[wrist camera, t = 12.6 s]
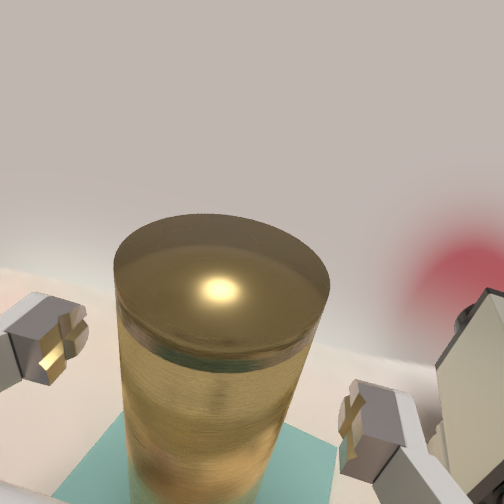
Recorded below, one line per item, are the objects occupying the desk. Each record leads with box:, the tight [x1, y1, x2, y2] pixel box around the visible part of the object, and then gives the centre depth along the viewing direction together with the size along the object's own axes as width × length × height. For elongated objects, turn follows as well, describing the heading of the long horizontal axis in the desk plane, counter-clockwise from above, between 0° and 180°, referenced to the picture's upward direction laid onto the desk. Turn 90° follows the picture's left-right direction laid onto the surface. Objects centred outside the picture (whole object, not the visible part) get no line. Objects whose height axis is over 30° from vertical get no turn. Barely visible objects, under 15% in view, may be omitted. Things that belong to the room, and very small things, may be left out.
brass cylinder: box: [114, 214, 330, 504], centre depth 12 cm, size 5×5×14 cm
